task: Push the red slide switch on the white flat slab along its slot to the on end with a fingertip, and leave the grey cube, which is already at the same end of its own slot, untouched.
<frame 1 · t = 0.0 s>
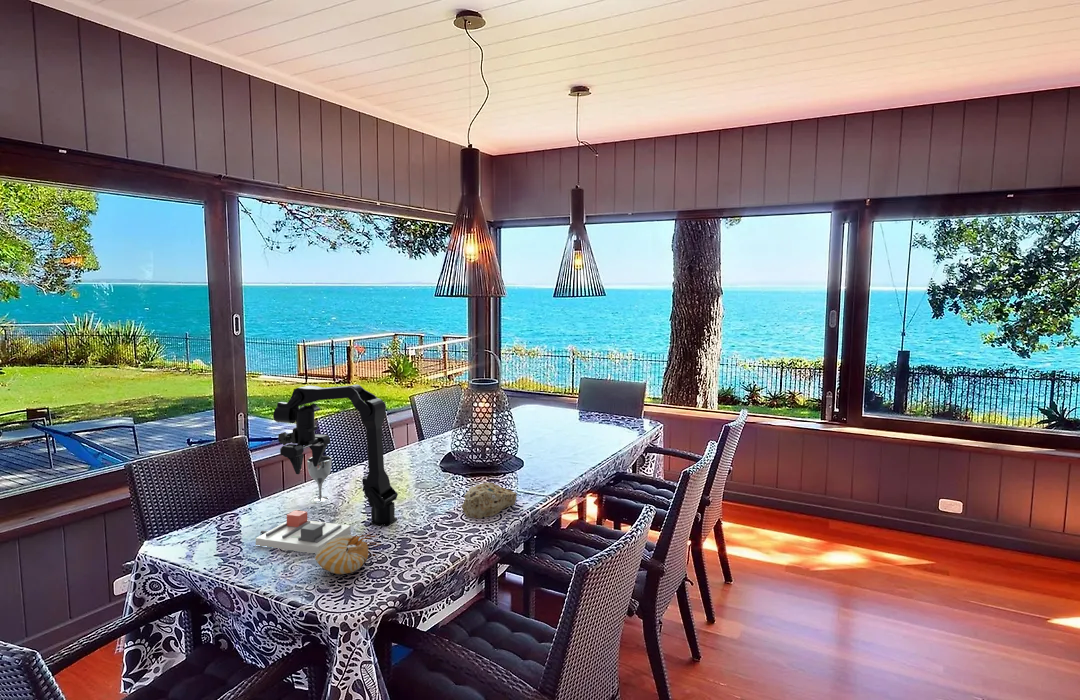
hand: (306, 470, 198), 15 cm above the table, tool pointing down, fingers open, 9 cm apart
red switch: (297, 518, 182), point 4 cm above the table, slide at 0.0 cm
nautilus: (353, 566, 161), on the table
rock: (489, 510, 204), on the table
grey cube: (311, 532, 172), point 4 cm above the table, slide at 8.0 cm
white flat slab: (304, 539, 178), on the table
wine glass: (320, 500, 212), on the table
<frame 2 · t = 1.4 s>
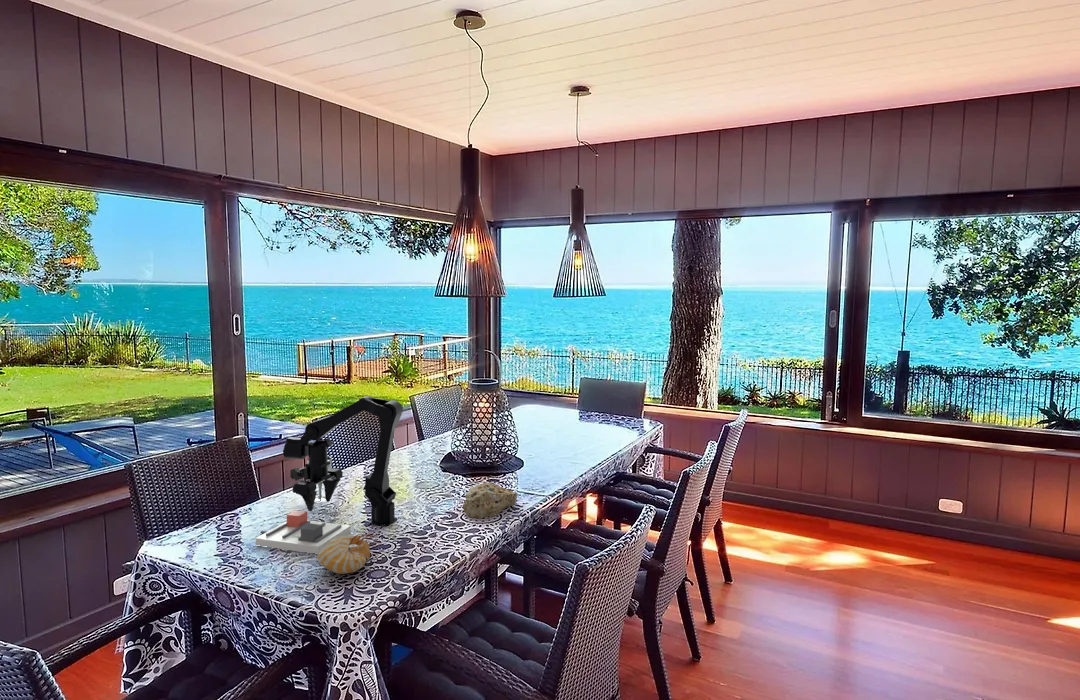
hand: (319, 506, 193), 4 cm above the table, tool pointing down, fingers open, 9 cm apart
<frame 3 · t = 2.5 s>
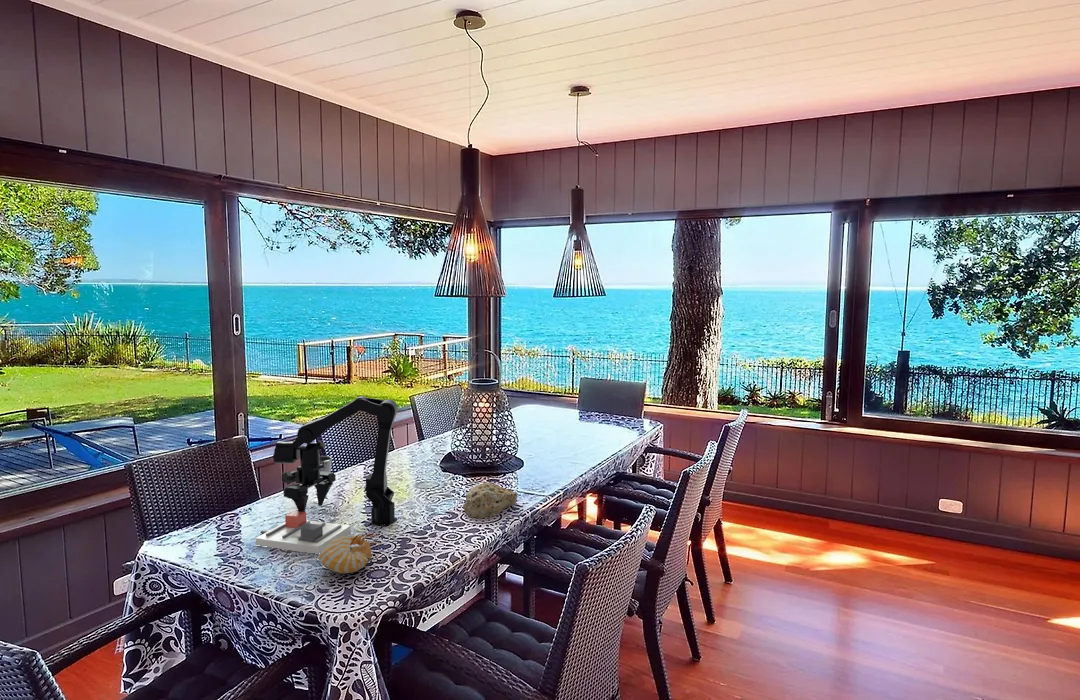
hand: (311, 510, 189), 4 cm above the table, tool pointing down, fingers open, 9 cm apart
red switch: (295, 519, 182), point 4 cm above the table, slide at 0.6 cm, touching gripper
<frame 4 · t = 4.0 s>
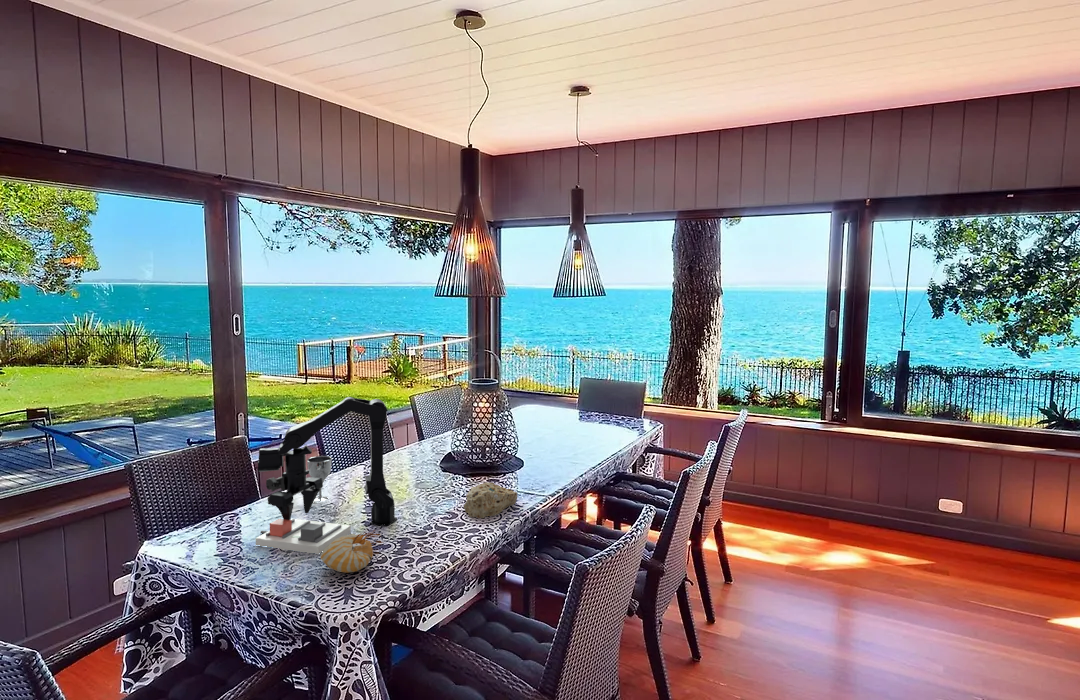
hand: (297, 518, 182), 4 cm above the table, tool pointing down, fingers open, 9 cm apart
red switch: (280, 527, 175), point 4 cm above the table, slide at 7.4 cm, touching gripper
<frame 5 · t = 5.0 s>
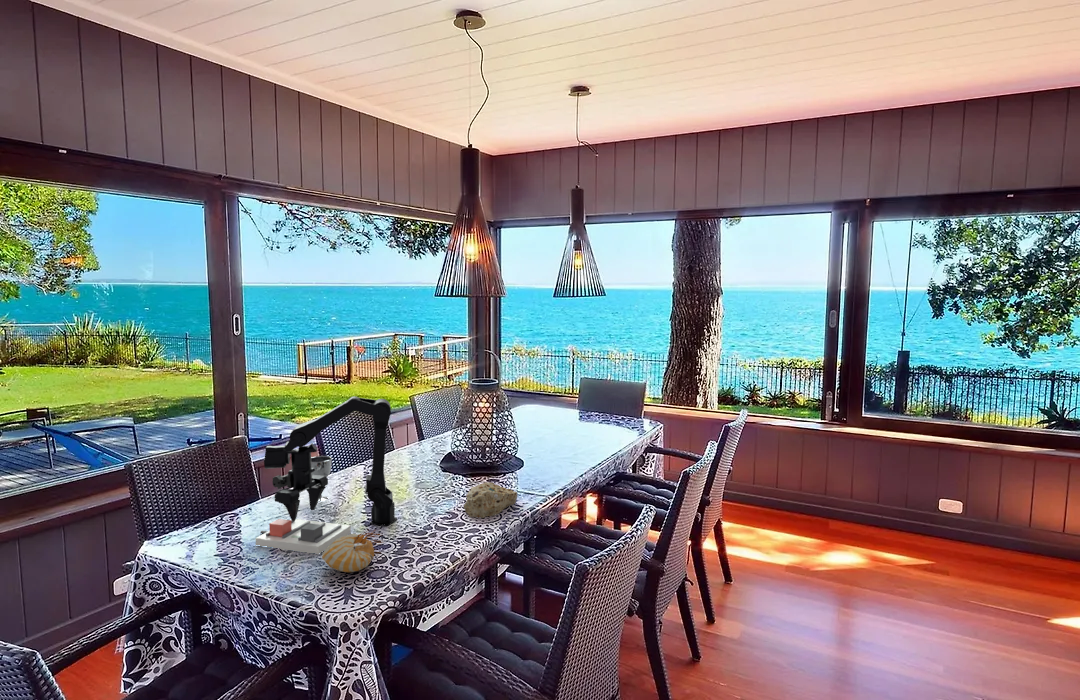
hand: (303, 515, 185), 4 cm above the table, tool pointing down, fingers open, 9 cm apart
red switch: (280, 527, 175), point 4 cm above the table, slide at 7.5 cm
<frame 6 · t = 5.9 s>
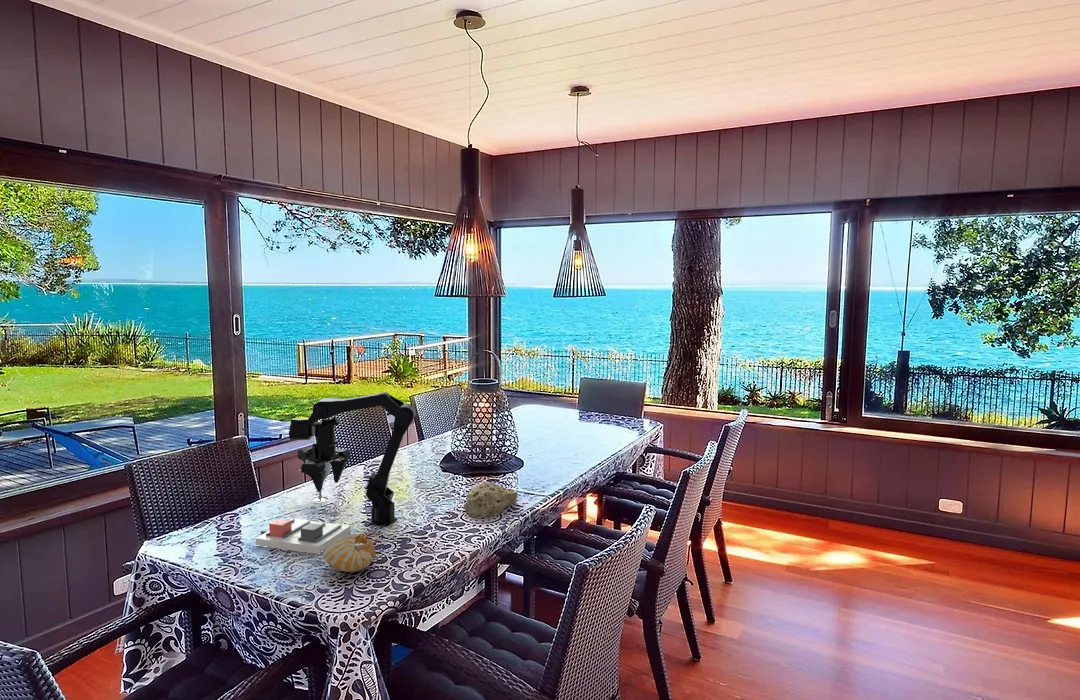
hand: (328, 487, 189), 12 cm above the table, tool pointing down, fingers open, 9 cm apart
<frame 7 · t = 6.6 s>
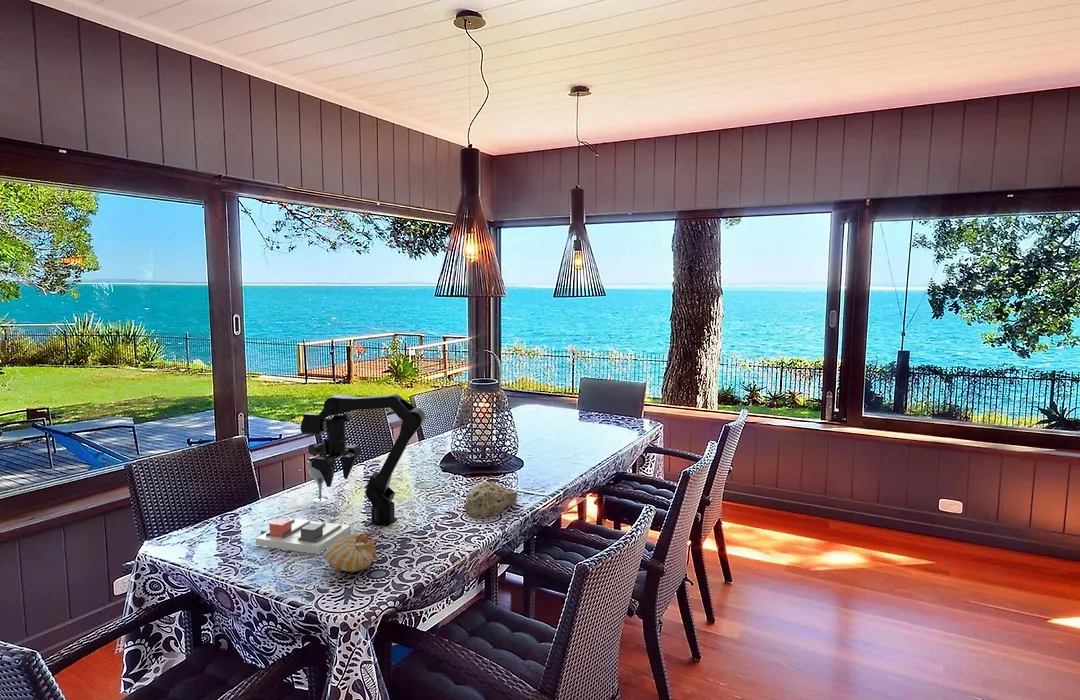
hand: (337, 482, 190), 13 cm above the table, tool pointing down, fingers open, 9 cm apart
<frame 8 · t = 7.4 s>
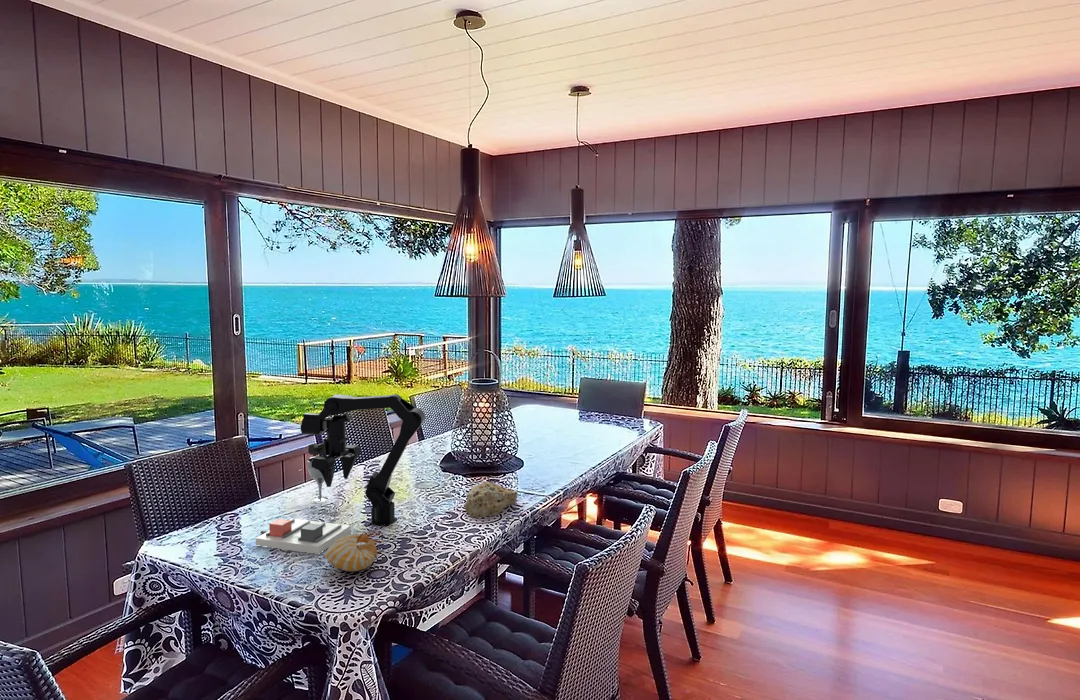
hand: (337, 482, 190), 13 cm above the table, tool pointing down, fingers open, 9 cm apart
at the end: red switch slide at 7.5 cm; grey cube slide at 8.0 cm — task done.
